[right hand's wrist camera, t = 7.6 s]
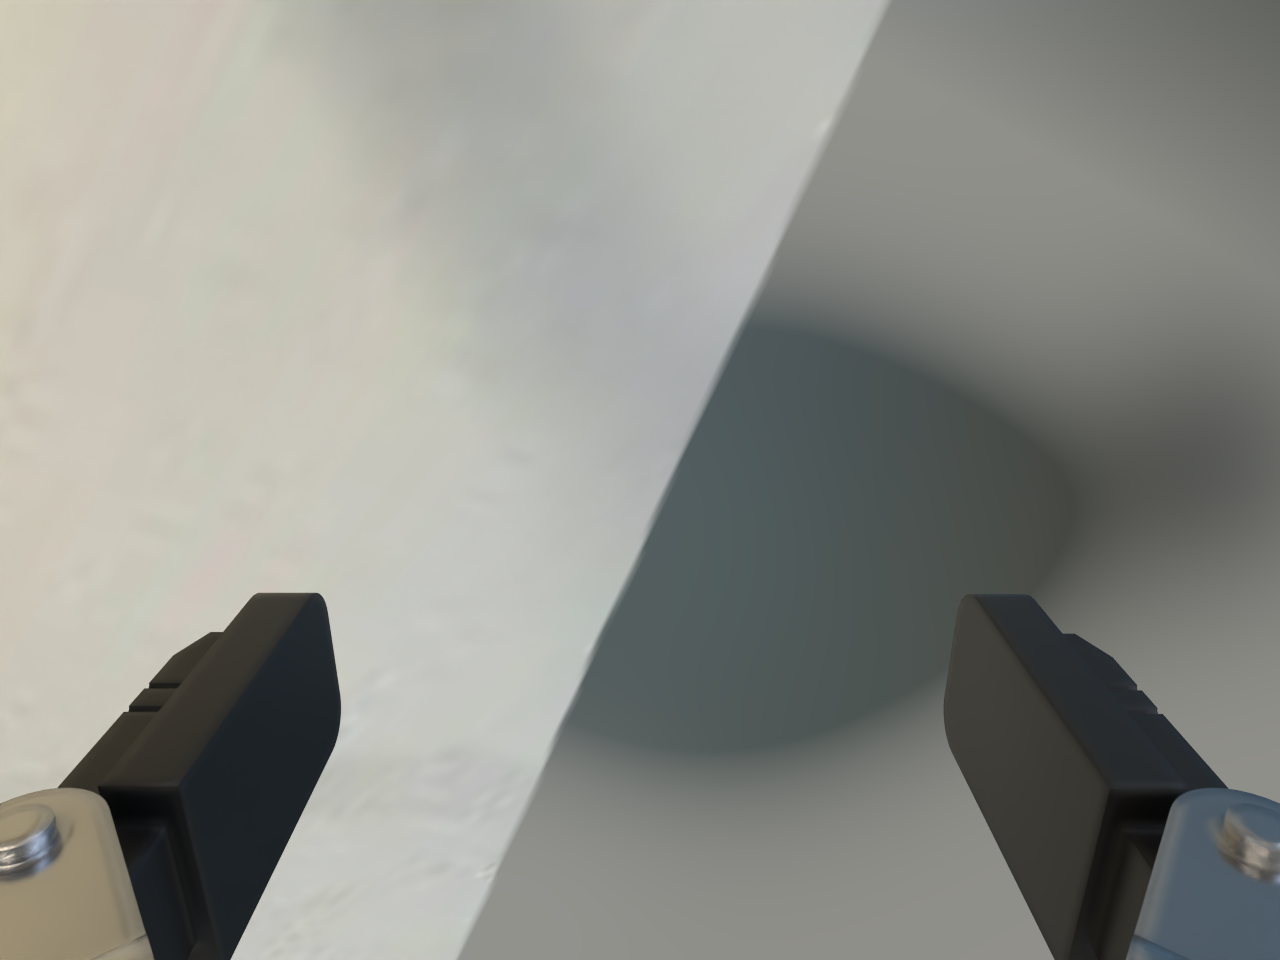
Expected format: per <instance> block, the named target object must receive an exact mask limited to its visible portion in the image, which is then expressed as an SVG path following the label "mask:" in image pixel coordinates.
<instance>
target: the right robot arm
mask: <svg viewBox="0 0 1280 960" xmlns="http://www.w3.org/2000/svg"><path fill="white" fill-rule="evenodd" d="M340 717H341V699H340V691H339V684H338V678H337V671H336V664H335V657H334V651H333V644H332V637H331V631H330V624H329V617H328V611H327V607H326V603H325V601H324V599H323V597H322V596H321V595H320V594H319V593H257V594H255V595H254V596H253V597H252V598H251V599H250V600H249V601H248V602H247V604H246V605H245V606H244V607H243V609H242V610H241V611H240V612H239V613H238V615H237V616H236V617H235V618H234V620H233V621H232V622H231V623H230V624H229V626H228V627H227V628H226V629H225V631H224V632H210V633H209V634H207V635H205V636H204V637H202V638H201V639H199V640H197V641H196V642H194V643H193V644H191V645H189V646H188V647H186V648H185V649H183V650H181V651H180V652H178V653H177V654H175V655H173V656H172V658H171V659H170V660H169V661H168V662H167V663H166V664H165V666H164V667H163V668H162V669H161V670H160V671H159V672H158V674H157V675H156V676H155V677H154V678H153V679H152V680H151V682H150V683H149V689H144V690H143V691H142V692H141V693H140V694H139V695H138V696H137V698H136V699H135V700H134V701H133V702H132V703H131V704H130V706H129V712H123V714H122V715H121V716H120V717H119V718H118V719H117V720H116V722H115V723H114V724H113V725H112V726H111V727H110V728H109V730H108V731H107V732H106V733H105V734H104V735H103V736H102V738H101V739H100V740H99V741H98V742H97V743H96V744H95V746H94V747H93V748H92V749H91V750H90V751H89V752H88V754H87V755H86V756H85V757H84V758H83V759H82V760H81V762H80V763H79V764H78V765H77V766H76V767H75V768H74V770H73V771H72V772H71V773H70V774H69V775H68V776H67V778H66V779H65V780H64V781H63V782H62V783H61V784H60V786H59V787H58V788H55V789H48V790H42V791H37V792H33V793H29V794H25V795H22V796H19V797H16V798H13V799H10V800H8V801H5V802H3V803H0V960H230V959H231V957H232V955H233V953H234V951H235V949H236V947H237V945H238V943H239V941H240V939H241V937H242V935H243V933H244V931H245V929H246V927H247V925H248V923H249V920H250V918H251V916H252V914H253V912H254V910H255V908H256V906H257V904H258V902H259V900H260V898H261V896H262V894H263V892H264V890H265V888H266V886H267V884H268V882H269V880H270V878H271V876H272V873H273V871H274V869H275V867H276V865H277V863H278V861H279V859H280V857H281V855H282V853H283V851H284V849H285V847H286V845H287V843H288V841H289V839H290V837H291V835H292V833H293V831H294V829H295V826H296V824H297V822H298V820H299V818H300V816H301V814H302V812H303V810H304V808H305V806H306V804H307V802H308V800H309V798H310V796H311V794H312V792H313V790H314V788H315V786H316V784H317V782H318V779H319V777H320V775H321V773H322V771H323V769H324V767H325V765H326V763H327V761H328V759H329V757H330V755H331V753H332V751H333V749H334V746H335V743H336V740H337V736H338V732H339V726H340ZM944 723H945V730H946V735H947V740H948V743H949V746H950V749H951V751H952V753H953V755H954V757H955V759H956V761H957V763H958V765H959V767H960V769H961V771H962V774H963V775H964V778H965V780H966V782H967V784H968V786H969V788H970V790H971V792H972V794H973V796H974V798H975V800H976V802H977V804H978V806H979V808H980V810H981V812H982V814H983V816H984V818H985V820H986V822H987V824H988V826H989V828H990V830H991V832H992V834H993V836H994V838H995V840H996V842H997V844H998V846H999V848H1000V850H1001V852H1002V854H1003V856H1004V858H1005V860H1006V862H1007V864H1008V866H1009V868H1010V870H1011V872H1012V874H1013V876H1014V879H1015V881H1016V882H1017V884H1018V887H1019V889H1020V891H1021V893H1022V895H1023V897H1024V899H1025V901H1026V903H1027V905H1028V907H1029V909H1030V911H1031V913H1032V915H1033V917H1034V919H1035V921H1036V923H1037V925H1038V927H1039V929H1040V931H1041V933H1042V935H1043V937H1044V939H1045V941H1046V943H1047V945H1048V947H1049V949H1050V951H1051V953H1052V955H1053V957H1054V959H1055V960H1280V804H1279V803H1277V802H1275V801H1272V800H1270V799H1267V798H1264V797H1261V796H1258V795H1255V794H1251V793H1247V792H1243V791H1238V790H1232V789H1228V788H1227V786H1226V785H1225V784H1224V783H1223V782H1222V781H1221V780H1220V779H1219V777H1218V776H1217V775H1216V774H1215V773H1214V772H1213V771H1212V770H1211V768H1210V767H1209V766H1208V765H1207V764H1206V763H1205V762H1204V760H1203V759H1202V758H1201V757H1200V756H1199V755H1198V754H1197V752H1196V751H1195V750H1194V749H1193V748H1192V747H1191V746H1190V745H1189V743H1188V742H1187V741H1186V740H1185V739H1184V738H1183V737H1182V735H1181V734H1180V733H1179V732H1178V731H1177V730H1176V729H1175V728H1174V726H1173V725H1172V724H1171V723H1170V722H1169V721H1168V720H1167V719H1166V717H1165V716H1164V715H1163V714H1158V712H1157V707H1156V706H1155V705H1154V704H1153V703H1152V701H1151V700H1150V699H1149V698H1148V697H1147V696H1146V695H1145V694H1144V692H1143V691H1138V690H1137V685H1136V683H1135V682H1134V681H1133V680H1132V679H1131V678H1130V677H1129V675H1128V674H1127V673H1126V672H1125V671H1124V670H1123V669H1122V668H1121V666H1120V665H1119V664H1118V663H1117V662H1116V661H1115V660H1114V658H1113V657H1111V656H1110V655H1108V654H1106V653H1105V652H1103V651H1102V650H1100V649H1098V648H1097V647H1095V646H1093V645H1092V644H1090V643H1089V642H1087V641H1085V640H1084V639H1082V638H1081V637H1079V636H1077V635H1076V634H1062V633H1061V631H1060V630H1059V629H1058V628H1057V626H1056V625H1055V624H1054V623H1053V622H1052V620H1051V619H1050V618H1049V617H1048V616H1047V614H1046V613H1045V612H1044V611H1043V610H1042V608H1041V607H1040V606H1039V605H1038V603H1037V602H1036V601H1035V600H1034V599H1033V598H1032V597H1031V596H1029V595H1025V594H968V595H965V596H964V597H963V599H962V600H961V602H960V604H959V608H958V612H957V617H956V624H955V630H954V637H953V644H952V650H951V657H950V664H949V670H948V677H947V683H946V690H945V697H944Z"/></svg>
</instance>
